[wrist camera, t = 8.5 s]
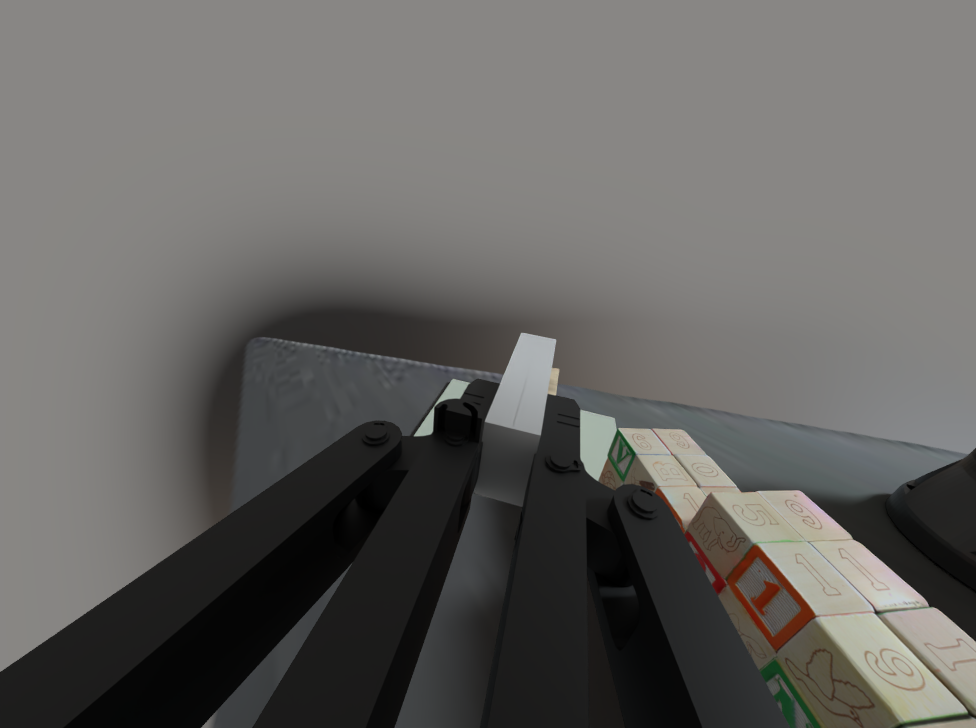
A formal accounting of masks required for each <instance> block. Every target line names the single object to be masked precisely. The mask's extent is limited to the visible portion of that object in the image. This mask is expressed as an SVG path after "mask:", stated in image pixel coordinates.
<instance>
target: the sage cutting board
mask: <svg viewBox="0 0 976 728" xmlns="http://www.w3.org/2000/svg"><path fill="white" fill-rule="evenodd" d="M468 384H470V383H468V382H464V381H459V380H455V379H452V381H451V382H450V384H449V385H448V387H447V388H446V390H445V391H444V393H443V394H442V396H441V397H440V398H439V400H438V401H437V403H436V404H435V406H436V405H437V404H438V403H439V402H441V401H444V400H447V399H455V398H457V399H460V398H461V396H462V394H463V393H464V391H465V389H466V388H467V386H468ZM435 406H434V407H435ZM434 407H433V409H432V410H431V412H430V413H429V414H428V416H427V417H426V419H425V420H424V422H423V423H422V425H421V426H420V428H419V429H418V431H417V432H416V433H415V435H414V436H426V435H430V434H432V432H433V421H434ZM616 431H617V430H616V423H615V418H612V417H608V416H604V415H599V414H595V413H591V412H587V411H583V410H580V458H581V461H582V462H583V463H584V467H585V470H586V471H587V473H588V474H589V475H590V476H592V477H593V478H594V479H595V480H597V481H598V480H599V477H600V475H601V472H602V470H603V468H604V465H605V462H606V460H607V458H608V456H607V455H608V452H609V449H610V446H611V444H612V441H613V439H614V436H615V434H616ZM598 482H599V481H598Z"/></svg>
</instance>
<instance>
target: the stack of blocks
mask: <svg viewBox="0 0 976 728" xmlns="http://www.w3.org/2000/svg"><path fill="white" fill-rule="evenodd" d="M607 456H608V458H607V460H606V462H605V465H604V468H603V470H602V472H601V475H600V477H599V480H598V481H599V482H600V483H602V484H604V485H605V486H607V487H609V488H611V489H613V490H615V491H616V489H617V488H618V487H620V486H622V485H625V484H635V485H639V486H643V487H645V488H647V489H649V490H651V491H653V492H654V493H656V494H657V495H658V496H659V497H661V498H662V499H663V500H664V501H665V503H666V504H667V505H668V507H669V508H670V510H671V511H672V513H673V515H674V517H675V519H676V521H677V522H678V524H679V526H680V528H681V530H682V531H683V533H684V535H685V537H686V539H687V540H688V542H689V544H690V546H691V548H692V550H693V551H694V553H695V555H696V557H697V559H698V560H699V562H700V564H701V566H702V568H703V570H704V571H705V573H706V575H707V577H708V579H709V580H710V582H711V584H712V586H713V588H714V589H715V591H716V593H717V595H718V597H719V599H720V600H721V602H722V604H723V606H724V608H725V609H726V611H727V613H728V615H729V617H730V619H731V620H732V622H733V624H734V626H735V628H736V629H737V631H738V633H739V635H740V637H741V638H742V640H743V642H744V644H745V646H746V648H747V649H748V651H749V653H750V655H751V657H752V658H753V660H754V662H755V664H756V666H757V668H758V669H759V671H760V673H761V675H762V677H763V678H764V680H765V682H766V684H767V686H768V687H769V689H770V691H771V693H772V695H773V697H774V698H775V700H776V702H777V704H778V706H779V707H780V709H781V711H782V713H783V715H784V717H785V718H786V720H787V722H788V724H789V726H790V727H791V728H976V642H975V641H974V640H973V639H972V638H971V637H969V636H968V635H967V634H966V633H965V632H964V631H963V630H962V629H960V628H959V627H958V626H957V625H956V624H955V623H953V622H952V621H951V620H950V619H949V618H948V617H947V616H945V615H944V614H943V613H942V612H941V611H939V610H938V609H937V608H933V607H929V605H928V603H927V601H926V600H925V599H924V598H923V597H922V596H921V595H920V594H919V593H917V592H916V591H915V590H914V589H913V588H912V587H911V586H909V585H908V584H907V583H906V582H905V581H903V580H902V579H901V578H900V577H899V576H898V575H897V574H895V573H894V572H893V571H892V570H891V569H890V568H889V567H888V566H886V565H885V564H884V563H883V562H882V561H881V560H879V559H878V558H877V557H876V556H875V555H874V554H872V553H871V552H870V551H869V550H868V549H867V548H866V547H865V546H864V545H862V544H861V543H859V542H857V541H855V540H853V538H852V536H851V535H850V534H849V533H848V532H847V531H846V530H844V529H843V528H842V527H841V526H840V525H839V524H838V523H836V522H835V521H834V520H833V519H832V518H831V517H830V516H828V515H827V514H826V513H825V512H824V511H823V510H822V509H820V508H819V507H818V506H817V505H816V504H815V503H814V502H812V501H811V500H810V499H809V498H808V497H807V496H806V495H805V494H803V493H802V492H801V491H799V490H795V491H756V492H745V493H742V492H741V491H740V490H739V489H738V488H737V486H736V485H735V484H734V483H733V482H732V481H731V479H730V478H729V477H728V476H727V475H726V474H725V473H724V472H723V471H722V470H721V469H720V468H719V467H718V465H717V464H716V463H715V462H714V461H713V460H712V459H711V458H710V457H709V456H707V455H706V454H705V452H704V451H703V450H702V449H701V448H700V447H699V446H698V445H697V444H696V443H695V442H694V440H693V439H692V438H691V437H690V436H689V435H688V434H687V433H686V432H685V431H684V430H673V429H651V430H650V429H630V428H618V429H617V431H616V434H615V436H614V439H613V441H612V444H611V446H610V449H609V452H608V455H607Z"/></svg>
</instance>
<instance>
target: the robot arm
mask: <svg viewBox="0 0 976 728" xmlns="http://www.w3.org/2000/svg"><path fill="white" fill-rule="evenodd" d="M555 344H556V339H550V338H546V337H541V336H536V335H531V334H526V333H521V335H520V338H519V340H518V342H517V345H516V348H515V350H514V352H513V354H512V357H511V359H510V362H509V364H508V367H507V369H506V372H505V374H504V376H503V378H502V381H501V383H500V384H499V383H494V382H490V381H486V380H481V379H476V380H475V381H473V382H471V383H470V384H468V386H467V388H466V389H465V391H464V393H463V394H462V396H461V398H460V399H457V398H455V399H447V400H444V401H441V402H439V403H438V404H437V405H436V406H435V407H434V421H433V432H432V434H430V435H426V436H402V433H401V430H400V428H399V427H398V426H396V425H395V424H393V423H391V422H387V421H371V422H367V423H364V424H362V425H360V426H358V427H356V428H355V429H354V430H352V431H351V432H349V433H348V434H346V435H345V436H343V437H342V438H340V439H339V440H338V441H336V442H335V443H333V444H332V445H330V446H329V447H327V448H326V449H324V450H323V451H322V452H320V453H319V454H317V455H316V456H314V457H313V458H311V459H310V460H308V461H307V462H306V463H304V464H303V465H301V466H300V467H298V468H297V469H295V470H294V471H292V472H291V473H290V474H288V475H287V476H285V477H284V478H282V479H281V480H279V481H278V482H276V483H275V484H273V485H272V486H271V487H269V488H268V489H266V490H265V491H263V492H262V493H260V494H259V495H257V496H256V497H255V498H253V499H252V500H250V501H249V502H247V503H246V504H244V505H243V506H241V507H240V508H239V509H237V510H236V511H234V512H233V513H231V514H230V515H228V516H227V517H225V518H224V519H223V520H221V521H220V522H218V523H217V524H216V525H214V526H212V527H211V528H209V529H208V530H207V531H205V532H204V533H202V534H201V535H199V536H198V537H196V538H195V539H193V540H192V541H191V542H189V543H188V544H186V545H185V546H183V547H182V548H180V549H179V550H177V551H176V552H175V553H173V554H172V555H170V556H169V557H167V558H166V559H164V560H163V561H161V562H160V563H158V564H157V565H156V566H154V567H153V568H151V569H150V570H148V571H147V572H145V573H144V574H142V575H141V576H140V577H138V578H137V579H135V580H134V581H132V582H131V583H129V584H128V585H126V586H125V587H124V588H122V589H121V590H119V591H118V592H116V593H115V594H113V595H112V596H111V597H109V598H107V599H106V600H105V601H103V602H102V603H100V604H99V605H97V606H96V607H94V608H93V609H91V610H90V611H89V612H87V613H86V614H84V615H83V616H81V617H80V618H78V619H77V620H75V621H74V622H73V623H71V624H70V625H68V626H67V627H65V628H64V629H62V630H61V631H60V632H58V633H57V634H55V635H54V636H52V637H51V638H49V639H48V640H46V641H45V642H43V643H42V644H41V645H39V646H38V647H36V648H35V649H33V650H32V651H30V652H29V653H28V654H26V655H25V656H23V657H22V658H20V659H19V660H17V661H16V662H14V663H13V664H11V665H10V666H9V667H7V668H6V669H4V670H3V671H1V672H0V728H201V727H202V726H203V725H204V724H205V723H206V722H207V720H208V719H209V718H210V717H211V716H212V715H213V714H214V713H215V712H216V711H217V710H218V709H219V707H220V706H221V705H222V704H223V703H224V702H225V701H226V700H227V699H228V698H229V697H230V695H231V694H232V693H233V692H234V691H235V690H236V689H237V688H238V687H239V686H240V685H241V683H242V682H243V681H244V680H245V679H246V678H247V677H248V676H249V675H250V674H251V673H252V671H253V670H254V669H255V668H256V667H257V666H258V665H259V664H260V663H261V662H262V661H263V659H264V658H265V657H266V656H267V655H268V654H269V653H270V652H271V651H272V650H273V649H274V647H275V646H276V645H277V644H278V643H279V642H280V641H281V640H282V639H283V638H284V637H285V635H286V634H287V633H288V632H289V631H290V630H291V629H292V628H293V627H294V626H295V625H296V624H297V622H298V621H299V620H300V619H301V618H302V617H303V616H304V615H305V614H306V613H307V612H308V610H309V609H310V608H311V607H312V606H313V605H314V604H315V603H316V602H317V601H318V600H319V598H320V597H321V596H322V595H323V594H324V593H325V592H326V591H327V590H328V589H329V588H330V586H331V585H332V584H333V583H334V582H335V581H336V580H337V579H338V578H339V577H340V576H341V574H342V573H343V572H344V571H345V570H346V569H347V568H348V567H349V566H350V565H351V564H352V565H351V567H350V568H349V570H348V572H347V573H346V575H345V576H344V578H343V580H342V581H341V583H340V585H339V586H338V588H337V590H336V591H335V593H334V595H333V596H332V598H331V599H330V601H329V603H328V604H327V606H326V608H325V609H324V611H323V613H322V614H321V616H320V617H319V619H318V621H317V622H316V624H315V626H314V627H313V629H312V631H311V632H310V634H309V636H308V637H307V639H306V640H305V642H304V644H303V645H302V647H301V649H300V650H299V652H298V654H297V655H296V657H295V659H294V660H293V662H292V663H291V665H290V667H289V668H288V670H287V672H286V673H285V675H284V677H283V678H282V680H281V682H280V683H279V685H278V686H277V688H276V690H275V691H274V693H273V695H272V696H271V698H270V700H269V701H268V703H267V704H266V706H265V708H264V709H263V711H262V713H261V714H260V716H259V718H258V719H257V721H256V723H255V724H254V726H253V727H252V728H394V727H395V724H396V722H397V719H398V716H399V713H400V710H401V707H402V704H403V701H404V698H405V695H406V693H407V690H408V687H409V684H410V681H411V678H412V675H413V672H414V669H415V666H416V664H417V661H418V658H419V655H420V652H421V649H422V646H423V643H424V640H425V637H426V634H427V632H428V629H429V626H430V623H431V620H432V617H433V614H434V611H435V608H436V605H437V603H438V600H439V597H440V594H441V591H442V588H443V585H444V582H445V579H446V576H447V574H448V571H449V568H450V565H451V562H452V559H453V556H454V553H455V550H456V547H457V544H458V542H459V539H460V536H461V533H462V530H463V527H464V524H465V521H466V518H467V515H468V513H469V510H470V504H471V497H472V494H473V491H474V488H475V492H474V494H477V495H481V496H485V497H488V498H492V499H495V500H499V501H502V502H506V503H509V504H513V505H516V506H520V507H522V512H521V516H520V520H519V524H518V528H517V532H516V536H515V546H514V551H513V556H512V562H511V567H510V572H509V577H508V583H507V588H506V593H505V599H504V604H503V609H502V614H501V620H500V625H499V630H498V636H497V641H496V646H495V652H494V657H493V662H492V667H491V673H490V678H489V683H488V689H487V694H486V699H485V704H484V710H483V715H482V720H481V726H480V728H589V685H588V615H587V576H588V580H589V584H590V588H591V592H592V596H593V600H594V604H595V608H596V612H597V616H598V620H599V624H600V628H601V632H602V636H603V640H604V644H605V648H606V652H607V656H608V660H609V664H610V668H611V672H612V676H613V680H614V684H615V688H616V692H617V696H618V700H619V704H620V708H621V712H622V716H623V720H624V724H625V728H791V727H790V726H789V724H788V722H787V720H786V718H785V717H784V715H783V713H782V711H781V709H780V707H779V706H778V704H777V702H776V700H775V698H774V697H773V695H772V693H771V691H770V689H769V687H768V686H767V684H766V682H765V680H764V678H763V677H762V675H761V673H760V671H759V669H758V668H757V666H756V664H755V662H754V660H753V658H752V657H751V655H750V653H749V651H748V649H747V648H746V646H745V644H744V642H743V640H742V638H741V637H740V635H739V633H738V631H737V629H736V628H735V626H734V624H733V622H732V620H731V619H730V617H729V615H728V613H727V611H726V609H725V608H724V606H723V604H722V602H721V600H720V599H719V597H718V595H717V593H716V591H715V589H714V588H713V586H712V584H711V582H710V580H709V579H708V577H707V575H706V573H705V571H704V570H703V568H702V566H701V564H700V562H699V560H698V559H697V557H696V555H695V553H694V551H693V550H692V548H691V546H690V544H689V542H688V540H687V539H686V537H685V535H684V533H683V531H682V530H681V528H680V526H679V524H678V522H677V521H676V519H675V517H674V515H673V513H672V511H671V510H670V508H669V507H668V505H667V504H666V503H665V501H664V500H663V499H662V498H661V497H659V496H658V495H657V494H656V493H654V492H653V491H651V490H649V489H647V488H645V487H643V486H639V485H635V484H625V485H622V486H620V487H618V488H617V489H616V491H615V490H613V489H611V488H609V487H607V486H605V485H604V484H602V483H600V482H598V481H597V480H595V479H594V478H593V477H592V476H590V475H589V474H588V473H587V471H586V470H585V467H584V463H583V462H582V461H581V458H580V408H579V406H578V405H577V403H576V402H575V400H573V399H569V398H565V397H560V396H556V395H551V394H548V387H549V381H550V375H551V369H552V363H553V357H554V350H555ZM886 509H887V512H888V514H889V516H890V518H891V519H892V521H893V522H894V523H895V525H896V526H897V527H898V528H899V529H900V531H901V532H902V533H903V534H904V535H905V536H906V537H907V538H908V539H909V540H910V541H911V542H912V543H913V544H914V545H915V546H917V547H918V548H919V549H920V550H921V551H922V552H923V553H925V554H926V555H927V556H928V557H929V558H931V559H932V560H933V561H934V562H936V563H937V564H938V565H940V566H941V567H942V568H944V569H945V570H946V571H948V572H949V573H951V574H952V575H953V576H955V577H956V578H958V579H959V580H961V581H962V582H963V583H965V584H966V585H968V586H969V587H971V588H973V589H974V590H976V448H975V449H974V450H973V451H972V452H971V453H970V454H969V455H968V456H966V457H965V458H963V459H961V460H958V461H956V462H954V463H951V464H949V465H946V466H944V467H942V468H939V469H937V470H935V471H932V472H930V473H928V474H926V475H923V476H921V477H919V478H917V479H916V480H912V481H909V482H907V483H904V484H903V485H901V486H900V487H899V488H898V489H897V490H896V491H895V492H894V493H893V494H892V495H891V496H890V497H889V498H888V499H887V501H886ZM353 561H354V562H353ZM352 562H353V563H352Z"/></svg>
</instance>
